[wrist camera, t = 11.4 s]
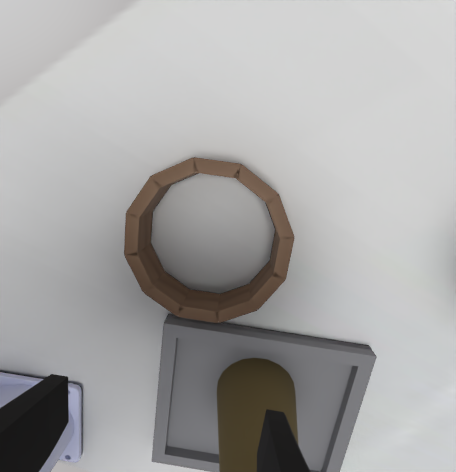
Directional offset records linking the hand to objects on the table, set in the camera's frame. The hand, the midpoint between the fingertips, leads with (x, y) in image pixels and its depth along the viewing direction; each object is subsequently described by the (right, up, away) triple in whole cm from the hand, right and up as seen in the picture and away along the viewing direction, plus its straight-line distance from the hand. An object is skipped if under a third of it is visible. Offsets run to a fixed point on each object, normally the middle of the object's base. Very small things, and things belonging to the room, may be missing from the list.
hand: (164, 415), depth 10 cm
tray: (+4, -7, +12) cm, 15 cm away
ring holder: (+1, +6, +9) cm, 11 cm away
